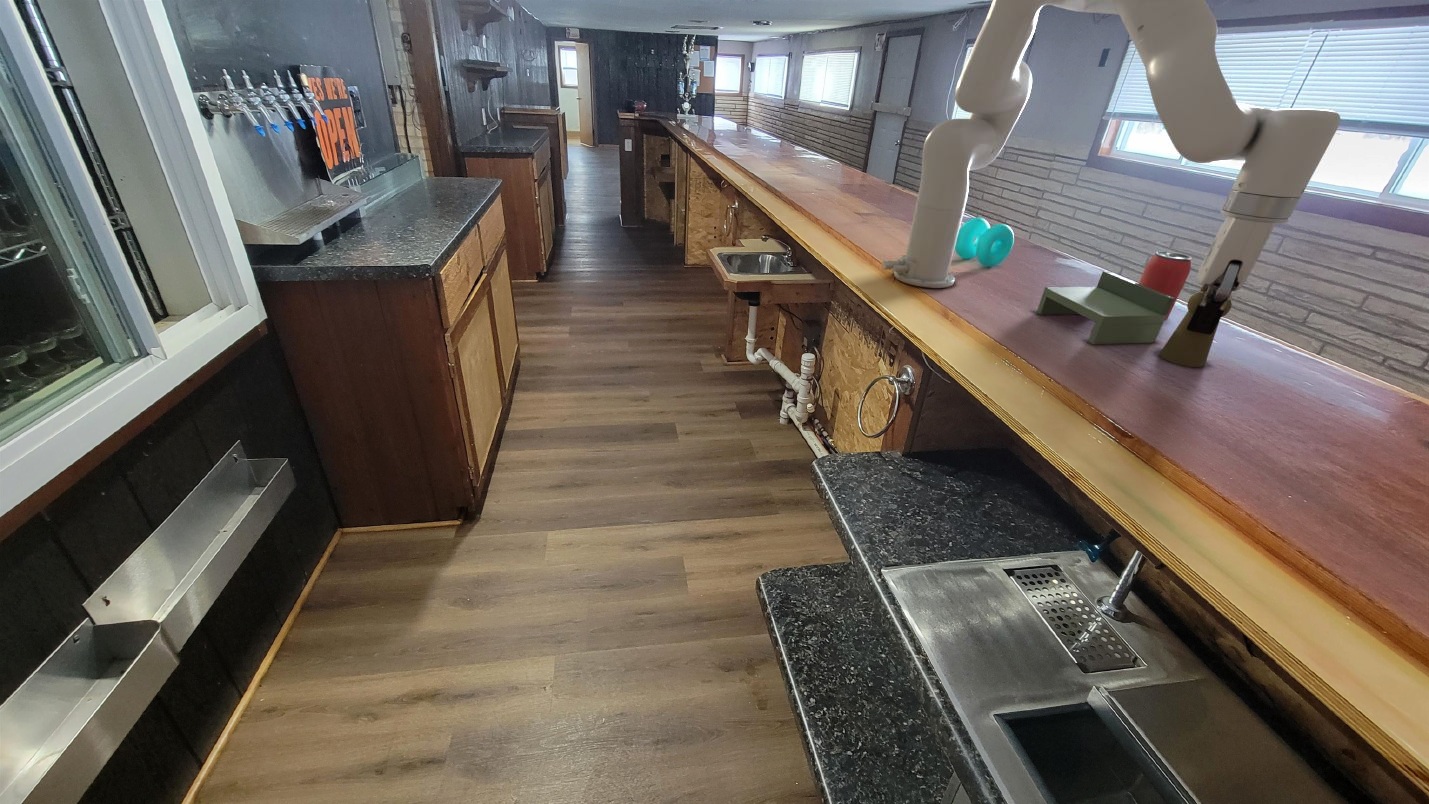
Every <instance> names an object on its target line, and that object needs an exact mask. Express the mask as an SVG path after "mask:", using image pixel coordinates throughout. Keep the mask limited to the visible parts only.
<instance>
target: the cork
mask: <svg viewBox="0 0 1429 804" xmlns="http://www.w3.org/2000/svg"><path fill="white" fill-rule="evenodd" d="M1205 293H1206V292H1204V291H1202V292H1200V291H1198V292H1195V293H1194V294H1192V295H1191V296H1190V297H1189V299H1188V301H1187V304H1186V307H1187V312H1186V314H1184V317H1183V318H1182V319H1181V321H1180V322H1179V324H1178V325H1177V326H1176V328H1175V330H1174V331H1173V333H1172V334H1171V335H1170V337H1169V339H1168V340H1167V341H1166V343H1165V344H1164V346H1163V347H1162V349H1160V350H1161V351H1160V352H1159V356H1160V357H1161V358H1163V359H1164V360H1166V361H1168V362H1171V363H1174V364H1177V365H1181V366H1185V367H1190V368H1202V367H1204V366H1205V365H1206V362H1207V360H1208V357H1209V353H1210V350H1211V348H1212V345H1213V342H1214V339H1215V336H1216V333H1217V329H1218V326H1219V323H1220V321H1221V319H1220V320H1219V322H1218V324H1217V326H1216V328H1215V330H1214V332H1213V333H1212V334H1211V335H1208V334H1203V333H1198V332H1194V331H1189V330H1187V326H1188V323H1189V321H1190V319H1191V317H1192V315H1193V313H1194V311H1195V309H1196V307H1197V305H1201V302H1202V300H1203V298H1204V296H1205ZM1212 293H1213V292H1212ZM1212 293H1211V294H1212ZM1232 304H1233V302H1232V299H1231V298H1229V300H1228V302H1227V304H1226V306H1225V308H1224V312H1223V314H1222V316H1221V318H1223V317H1225V316H1226V315H1228V313H1229V312H1230V311H1231V310H1232V306H1233V305H1232Z"/></svg>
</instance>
